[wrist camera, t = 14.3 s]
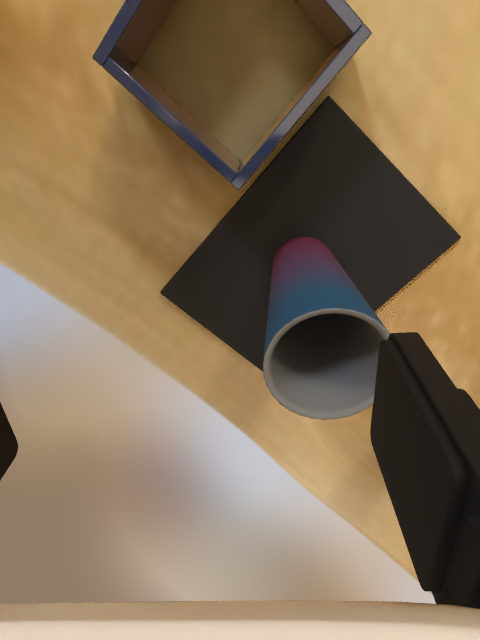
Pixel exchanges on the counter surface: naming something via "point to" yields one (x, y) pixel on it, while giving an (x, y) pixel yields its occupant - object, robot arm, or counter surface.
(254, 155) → the holder
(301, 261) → the cup
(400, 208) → the mat
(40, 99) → the counter surface
